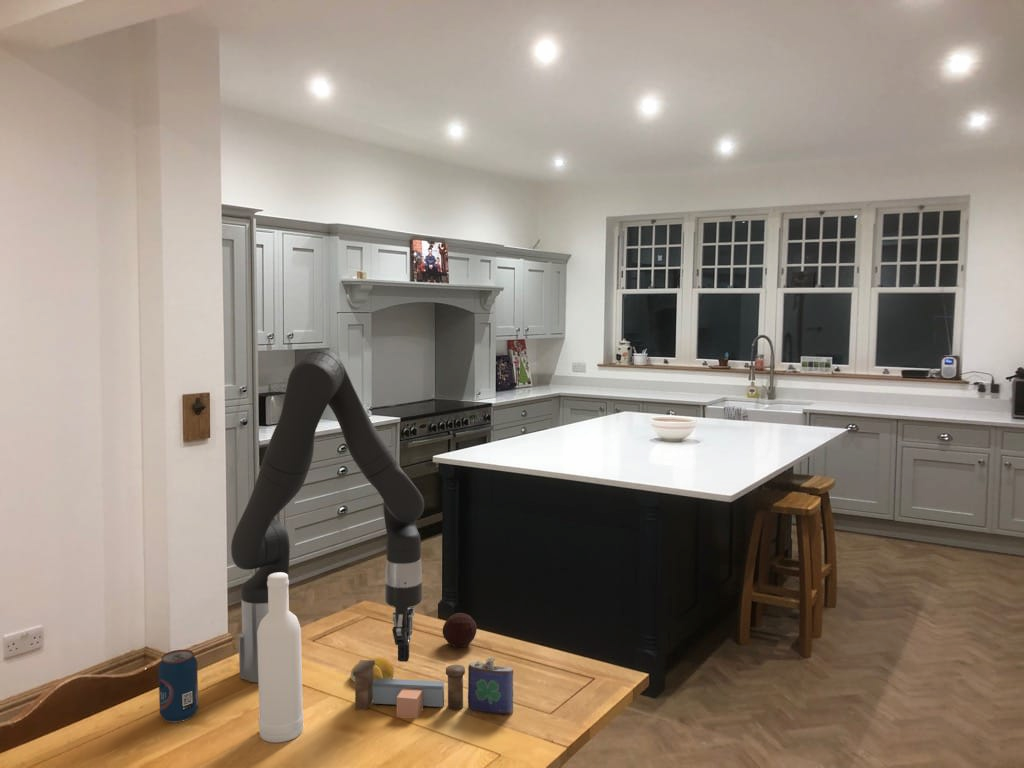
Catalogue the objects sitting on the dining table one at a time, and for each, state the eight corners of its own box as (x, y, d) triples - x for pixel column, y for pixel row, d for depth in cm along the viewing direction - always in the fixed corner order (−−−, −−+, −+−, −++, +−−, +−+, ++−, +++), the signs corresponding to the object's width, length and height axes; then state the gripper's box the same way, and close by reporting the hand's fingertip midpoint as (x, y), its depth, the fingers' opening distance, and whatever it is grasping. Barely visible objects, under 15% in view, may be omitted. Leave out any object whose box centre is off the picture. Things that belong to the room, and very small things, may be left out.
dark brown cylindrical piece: (444, 711, 159) (444, 672, 158) (447, 702, 162) (447, 664, 162) (463, 711, 158) (463, 673, 158) (466, 702, 162) (466, 665, 161)
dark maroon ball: (475, 637, 196) (475, 606, 195) (478, 652, 186) (478, 620, 186) (441, 638, 194) (441, 607, 194) (443, 654, 185) (443, 622, 185)
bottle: (310, 723, 154) (307, 569, 151) (292, 745, 146) (288, 583, 143) (271, 720, 155) (267, 567, 152) (251, 741, 147) (247, 580, 145)
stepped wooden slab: (353, 710, 159) (353, 672, 158) (360, 697, 164) (360, 659, 164) (368, 710, 159) (368, 672, 158) (375, 697, 164) (374, 660, 164)
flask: (514, 710, 159) (514, 657, 158) (510, 717, 156) (510, 663, 155) (470, 704, 162) (469, 652, 161) (465, 711, 159) (465, 658, 158)
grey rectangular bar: (445, 702, 162) (444, 681, 161) (443, 707, 159) (442, 686, 159) (375, 699, 163) (375, 678, 163) (372, 704, 161) (372, 683, 160)
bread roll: (401, 677, 174) (401, 659, 174) (367, 691, 168) (367, 672, 167) (377, 665, 180) (377, 648, 179) (344, 678, 173) (344, 660, 173)
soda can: (153, 716, 156) (151, 656, 155) (187, 703, 162) (185, 645, 161) (170, 728, 152) (168, 666, 151) (205, 714, 157) (203, 654, 156)
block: (416, 718, 156) (416, 698, 155) (397, 717, 156) (396, 697, 156) (422, 709, 160) (422, 689, 159) (403, 707, 160) (403, 687, 160)
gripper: (417, 591, 161) (416, 674, 163) (426, 569, 174) (425, 647, 176) (379, 590, 161) (379, 673, 163) (391, 569, 174) (391, 646, 176)
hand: (403, 659), depth 169 cm, fingers closed
